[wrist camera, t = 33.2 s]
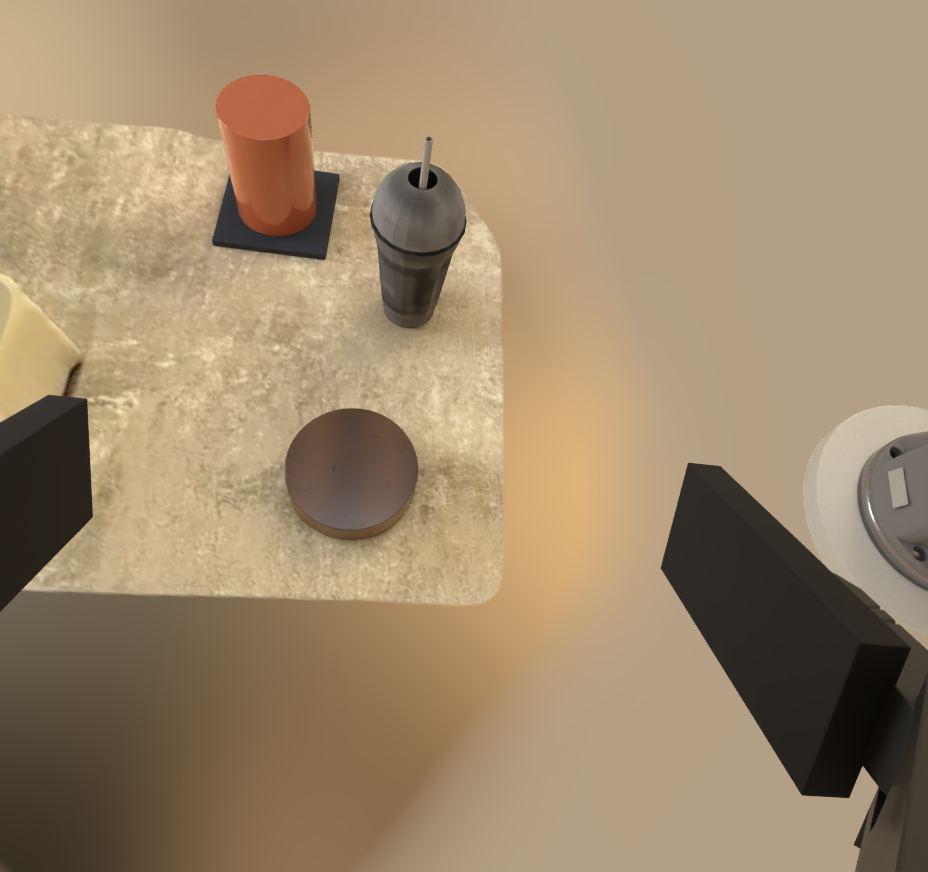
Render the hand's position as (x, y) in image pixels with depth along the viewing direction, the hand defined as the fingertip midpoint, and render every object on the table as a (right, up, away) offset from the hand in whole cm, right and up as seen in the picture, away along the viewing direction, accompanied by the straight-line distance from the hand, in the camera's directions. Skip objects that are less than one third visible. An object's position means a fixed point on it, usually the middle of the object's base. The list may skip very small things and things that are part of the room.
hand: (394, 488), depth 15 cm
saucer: (-7, -2, +40) cm, 41 cm away
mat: (-16, +22, +50) cm, 57 cm away
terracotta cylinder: (-16, +22, +49) cm, 56 cm away
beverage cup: (-3, +13, +48) cm, 49 cm away
